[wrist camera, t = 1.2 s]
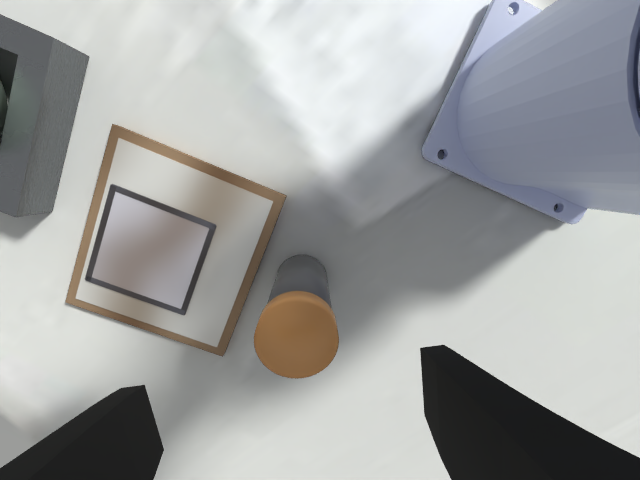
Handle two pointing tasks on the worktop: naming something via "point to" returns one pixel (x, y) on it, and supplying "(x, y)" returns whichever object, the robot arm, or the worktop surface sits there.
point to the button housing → (37, 117)
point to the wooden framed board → (171, 242)
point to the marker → (297, 321)
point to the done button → (2, 107)
